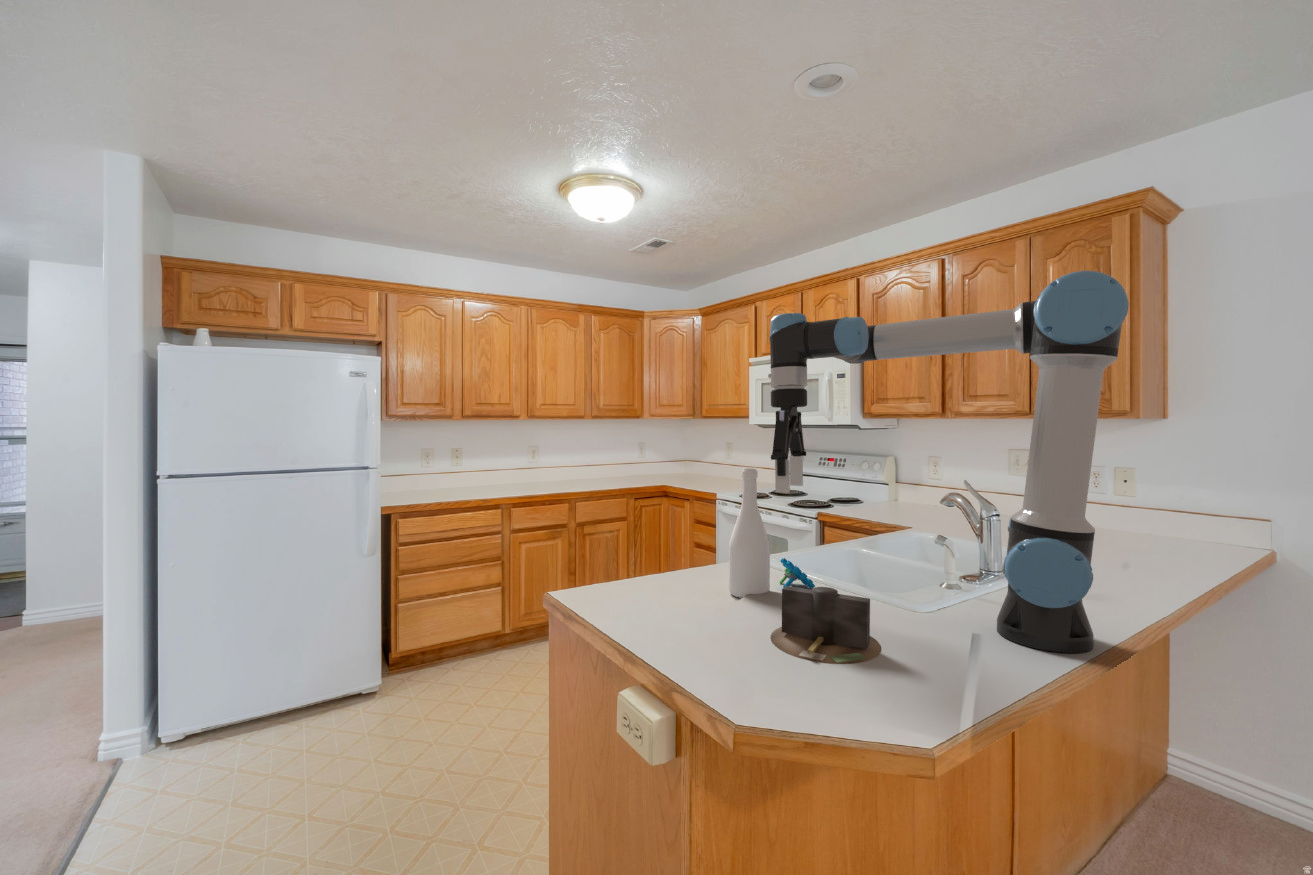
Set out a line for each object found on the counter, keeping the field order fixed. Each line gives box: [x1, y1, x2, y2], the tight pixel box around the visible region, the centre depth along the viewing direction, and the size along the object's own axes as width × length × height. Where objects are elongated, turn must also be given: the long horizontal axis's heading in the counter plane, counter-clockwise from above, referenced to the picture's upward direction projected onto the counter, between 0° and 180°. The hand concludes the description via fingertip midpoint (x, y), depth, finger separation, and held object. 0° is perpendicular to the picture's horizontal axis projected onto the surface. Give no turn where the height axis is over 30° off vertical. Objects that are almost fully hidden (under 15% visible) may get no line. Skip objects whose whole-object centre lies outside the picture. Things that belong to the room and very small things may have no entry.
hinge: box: [781, 586, 871, 654], centre depth 99 cm, size 15×11×9 cm
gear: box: [779, 557, 816, 589], centre depth 140 cm, size 11×6×10 cm
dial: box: [770, 626, 882, 665], centre depth 102 cm, size 19×19×2 cm
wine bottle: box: [728, 467, 771, 599], centre depth 135 cm, size 10×10×30 cm
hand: (789, 488), depth 121 cm, fingers open, 13 cm apart
